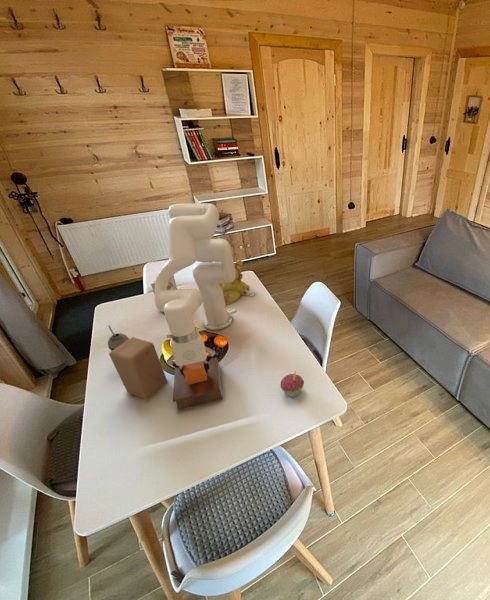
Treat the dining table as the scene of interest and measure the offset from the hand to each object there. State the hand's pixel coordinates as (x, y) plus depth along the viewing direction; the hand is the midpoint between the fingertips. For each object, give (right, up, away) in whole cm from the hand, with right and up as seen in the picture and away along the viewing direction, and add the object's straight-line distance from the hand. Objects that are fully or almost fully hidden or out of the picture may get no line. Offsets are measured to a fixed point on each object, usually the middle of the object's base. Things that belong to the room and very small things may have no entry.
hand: (196, 372), depth 122 cm
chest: (0, -7, +5) cm, 8 cm away
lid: (0, -3, +2) cm, 3 cm away
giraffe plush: (-10, +29, +61) cm, 69 cm away
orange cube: (0, -2, +1) cm, 2 cm away
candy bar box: (-37, +23, +50) cm, 66 cm away
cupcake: (+35, -9, +5) cm, 36 cm away
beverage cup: (-34, 0, +14) cm, 37 cm away
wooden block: (-20, -7, +4) cm, 22 cm away
